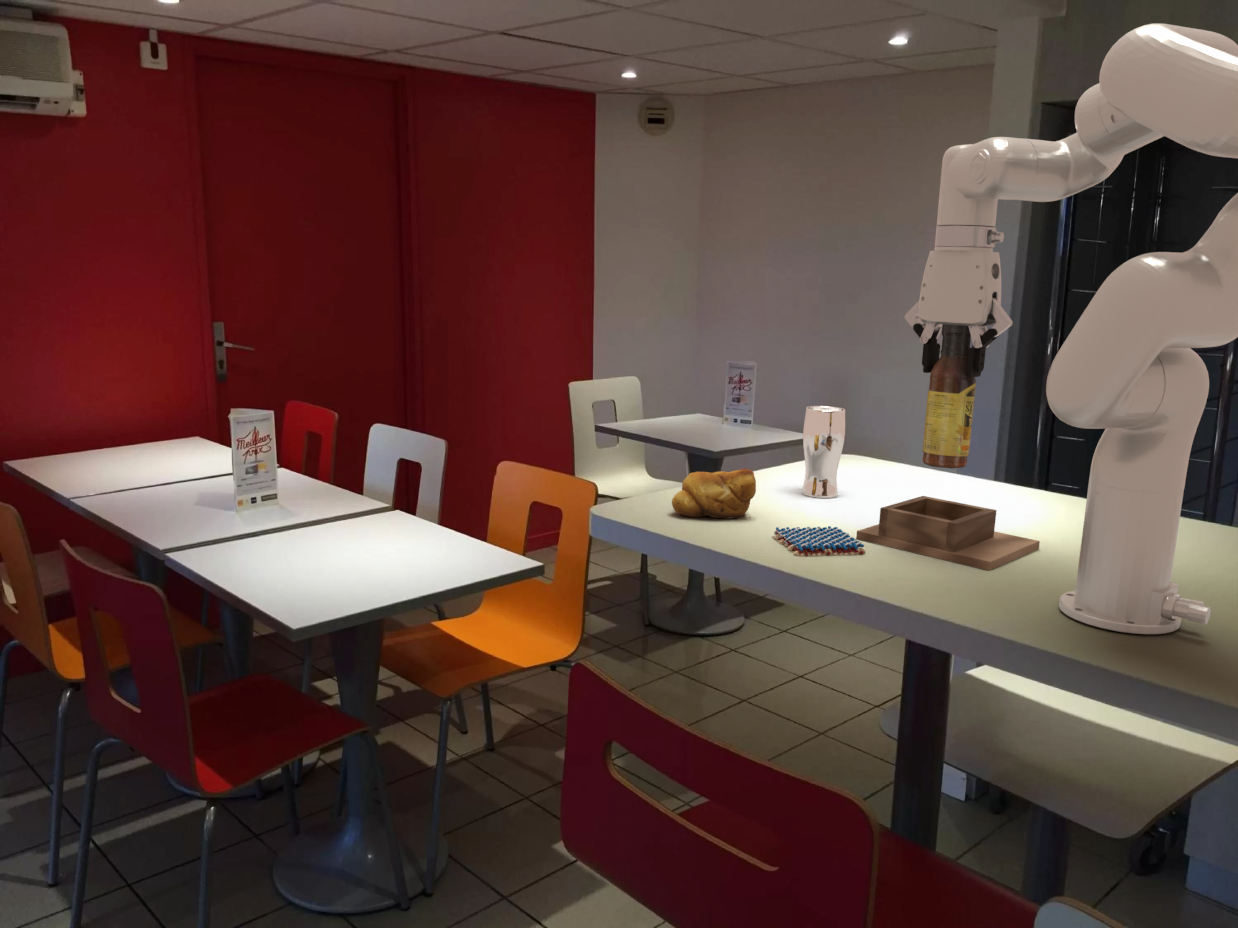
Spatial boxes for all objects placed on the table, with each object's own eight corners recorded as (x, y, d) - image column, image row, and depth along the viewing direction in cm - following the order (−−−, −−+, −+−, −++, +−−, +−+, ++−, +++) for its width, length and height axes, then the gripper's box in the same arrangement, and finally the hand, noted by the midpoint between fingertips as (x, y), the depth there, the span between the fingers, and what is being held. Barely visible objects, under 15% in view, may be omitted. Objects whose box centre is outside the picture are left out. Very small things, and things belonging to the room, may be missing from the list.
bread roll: (676, 522, 153) (678, 470, 151) (664, 507, 162) (666, 458, 161) (758, 521, 155) (761, 470, 153) (742, 506, 164) (745, 458, 162)
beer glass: (791, 491, 176) (796, 406, 173) (824, 488, 179) (830, 405, 176) (814, 500, 170) (821, 412, 167) (848, 497, 173) (855, 410, 170)
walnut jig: (1038, 549, 144) (1042, 513, 143) (989, 570, 132) (993, 532, 131) (910, 521, 157) (913, 489, 156) (856, 538, 146) (859, 503, 145)
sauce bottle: (970, 471, 139) (986, 326, 135) (922, 468, 140) (937, 323, 136) (964, 462, 145) (979, 323, 141) (918, 459, 146) (932, 321, 142)
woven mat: (837, 537, 148) (838, 524, 148) (867, 558, 138) (869, 544, 138) (769, 539, 146) (770, 525, 146) (795, 560, 136) (796, 546, 136)
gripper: (1039, 242, 133) (1023, 379, 137) (919, 241, 145) (908, 367, 148) (1015, 240, 128) (1000, 382, 131) (892, 239, 140) (882, 370, 143)
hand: (951, 373), depth 140 cm, fingers closed on sauce bottle, 5 cm apart
